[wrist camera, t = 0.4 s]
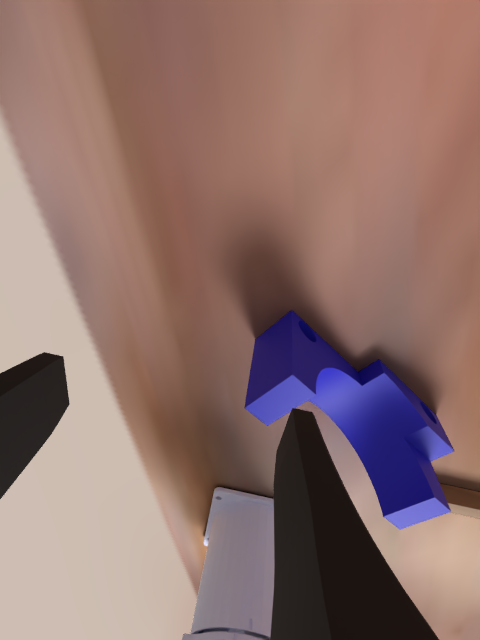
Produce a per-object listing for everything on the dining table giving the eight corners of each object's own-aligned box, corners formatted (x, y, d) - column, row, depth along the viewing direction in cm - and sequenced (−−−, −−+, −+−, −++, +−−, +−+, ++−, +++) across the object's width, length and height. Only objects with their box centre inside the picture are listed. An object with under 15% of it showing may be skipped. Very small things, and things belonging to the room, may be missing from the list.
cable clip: (434, 412, 22) (480, 501, 17) (375, 442, 24) (399, 529, 19) (311, 292, 19) (320, 355, 13) (255, 337, 21) (244, 408, 15)
